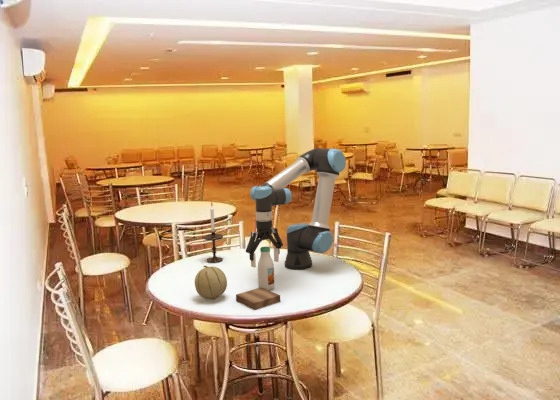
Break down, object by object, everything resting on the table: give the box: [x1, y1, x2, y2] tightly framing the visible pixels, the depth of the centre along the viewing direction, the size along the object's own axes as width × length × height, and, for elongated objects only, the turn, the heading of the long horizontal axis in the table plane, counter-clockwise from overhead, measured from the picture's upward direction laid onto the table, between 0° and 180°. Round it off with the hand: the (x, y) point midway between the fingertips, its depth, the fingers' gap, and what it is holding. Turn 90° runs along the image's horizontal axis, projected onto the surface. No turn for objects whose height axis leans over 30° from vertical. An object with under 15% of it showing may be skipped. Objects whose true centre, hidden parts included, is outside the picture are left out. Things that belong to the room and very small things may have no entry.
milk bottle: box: [257, 246, 275, 291], centre depth 233 cm, size 8×8×20 cm
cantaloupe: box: [194, 265, 228, 300], centre depth 223 cm, size 15×15×15 cm
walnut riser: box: [235, 287, 281, 311], centre depth 218 cm, size 14×14×3 cm
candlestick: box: [203, 200, 224, 264], centre depth 280 cm, size 11×11×35 cm
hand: (265, 264), depth 233 cm, fingers open, 13 cm apart
